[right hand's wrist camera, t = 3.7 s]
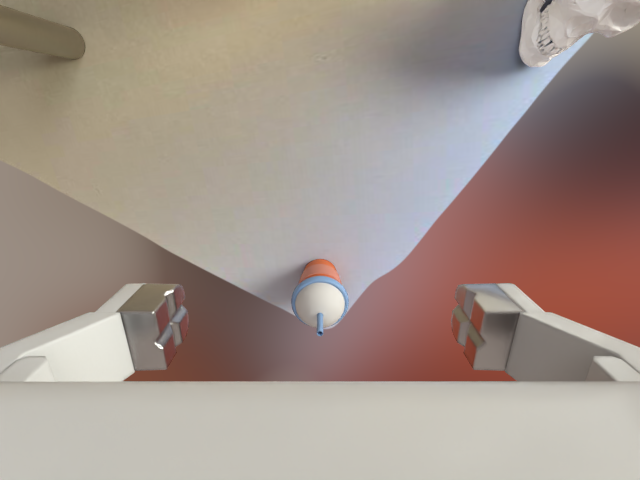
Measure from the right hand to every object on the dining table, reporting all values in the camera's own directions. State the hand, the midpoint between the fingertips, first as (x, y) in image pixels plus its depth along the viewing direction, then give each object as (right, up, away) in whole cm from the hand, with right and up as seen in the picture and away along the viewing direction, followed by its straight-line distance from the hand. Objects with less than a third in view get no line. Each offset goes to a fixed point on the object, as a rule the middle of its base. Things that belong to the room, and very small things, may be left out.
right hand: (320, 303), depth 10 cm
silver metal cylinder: (-37, +31, +40) cm, 62 cm away
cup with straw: (0, -4, +53) cm, 53 cm away
